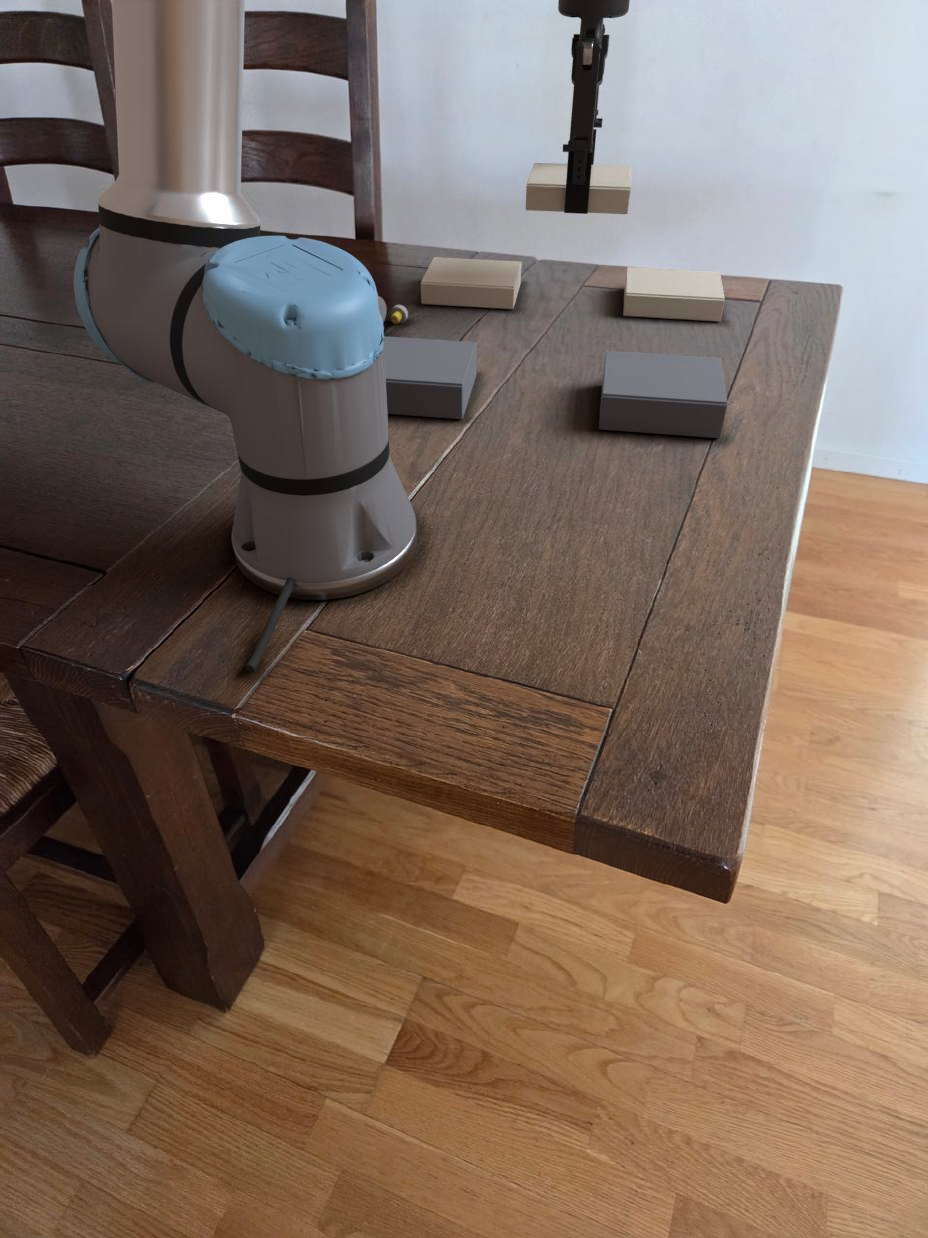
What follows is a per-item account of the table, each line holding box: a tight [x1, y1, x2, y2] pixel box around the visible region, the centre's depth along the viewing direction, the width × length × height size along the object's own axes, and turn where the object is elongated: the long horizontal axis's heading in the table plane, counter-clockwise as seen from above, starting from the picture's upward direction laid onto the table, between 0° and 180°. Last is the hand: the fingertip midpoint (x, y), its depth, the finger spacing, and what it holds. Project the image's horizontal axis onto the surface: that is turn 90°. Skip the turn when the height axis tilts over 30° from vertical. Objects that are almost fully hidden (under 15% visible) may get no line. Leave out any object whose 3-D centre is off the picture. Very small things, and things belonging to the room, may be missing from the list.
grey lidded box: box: [384, 336, 478, 420], centre depth 92 cm, size 10×12×4 cm
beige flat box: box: [525, 162, 633, 215], centre depth 103 cm, size 9×12×3 cm
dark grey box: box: [598, 350, 728, 439], centre depth 89 cm, size 10×12×4 cm
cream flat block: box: [420, 256, 523, 310], centre depth 113 cm, size 9×12×3 cm
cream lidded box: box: [622, 266, 726, 322], centre depth 110 cm, size 9×12×3 cm
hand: (578, 199), depth 104 cm, fingers closed on beige flat box, 9 cm apart
